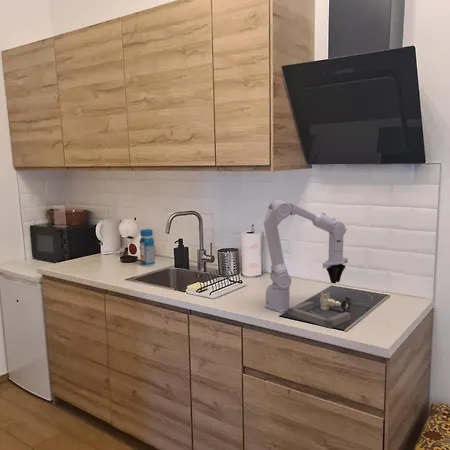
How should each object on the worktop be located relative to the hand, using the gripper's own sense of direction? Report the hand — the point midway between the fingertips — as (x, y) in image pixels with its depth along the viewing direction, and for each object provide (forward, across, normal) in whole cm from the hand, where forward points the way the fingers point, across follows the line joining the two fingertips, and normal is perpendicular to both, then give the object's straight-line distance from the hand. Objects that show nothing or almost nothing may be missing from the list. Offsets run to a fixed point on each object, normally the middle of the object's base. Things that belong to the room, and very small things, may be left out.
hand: (335, 282), depth 194 cm
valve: (+10, -6, -4) cm, 13 cm away
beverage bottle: (+10, -19, +115) cm, 117 cm away
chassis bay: (+9, -16, -5) cm, 20 cm away
